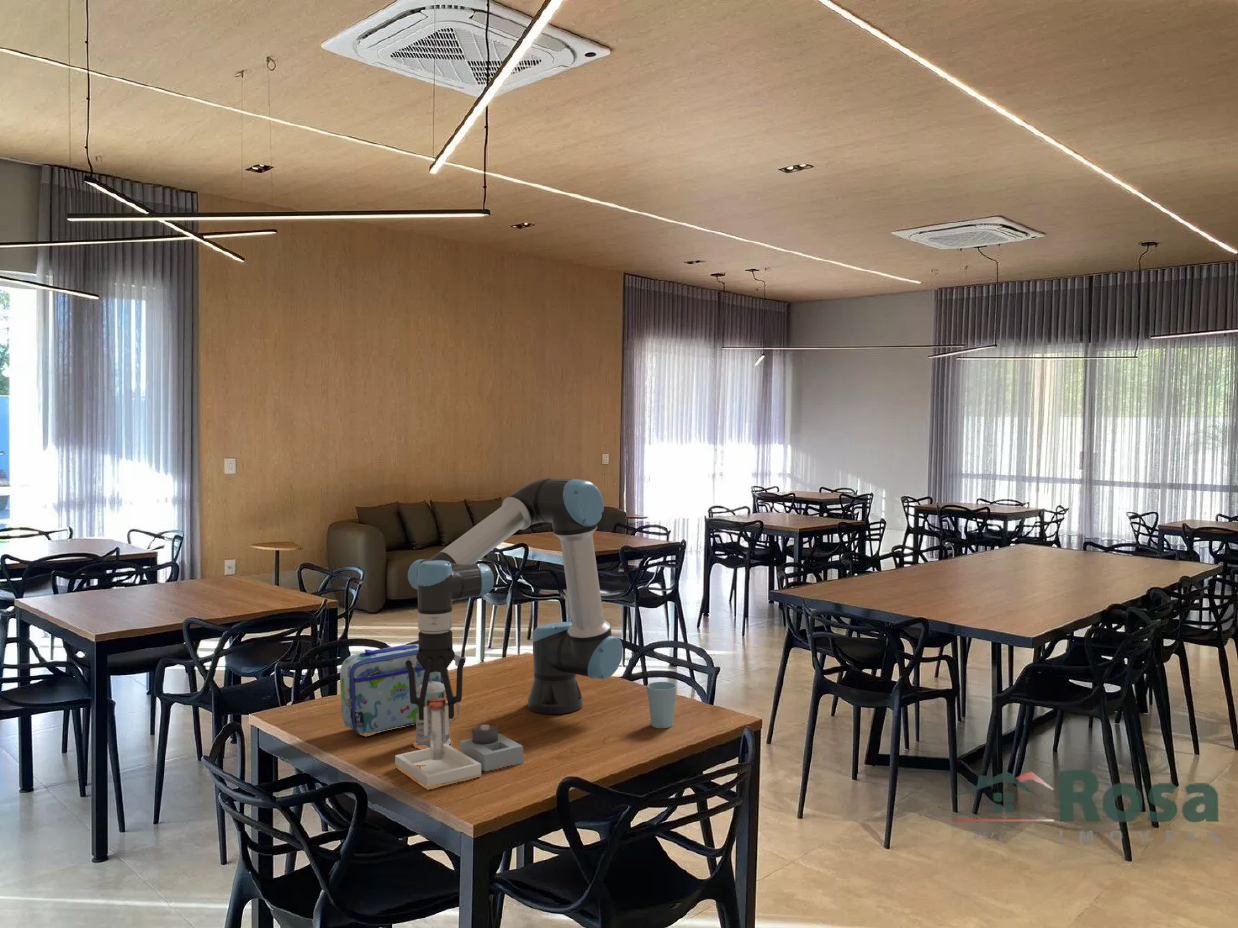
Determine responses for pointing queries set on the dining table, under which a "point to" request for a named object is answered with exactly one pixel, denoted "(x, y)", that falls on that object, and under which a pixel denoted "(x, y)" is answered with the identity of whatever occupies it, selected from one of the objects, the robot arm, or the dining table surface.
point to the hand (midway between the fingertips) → (436, 733)
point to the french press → (431, 690)
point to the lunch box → (380, 689)
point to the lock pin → (436, 728)
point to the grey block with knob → (491, 748)
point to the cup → (661, 703)
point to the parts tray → (438, 766)
